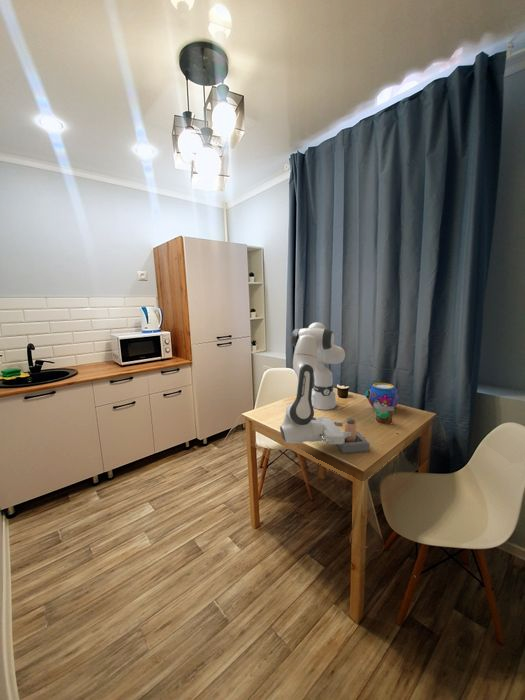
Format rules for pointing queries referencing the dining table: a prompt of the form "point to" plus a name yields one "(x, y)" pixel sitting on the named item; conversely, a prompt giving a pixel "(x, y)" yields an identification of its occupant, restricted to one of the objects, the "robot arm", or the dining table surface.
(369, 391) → the ceramic pot
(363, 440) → the holder
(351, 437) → the spice jar
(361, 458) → the dining table surface
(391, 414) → the food container
